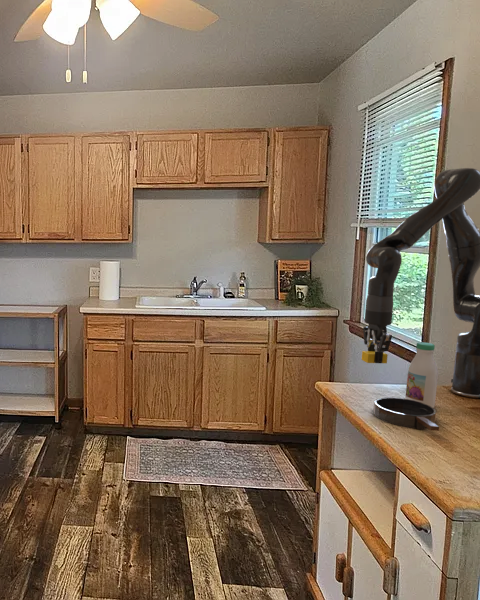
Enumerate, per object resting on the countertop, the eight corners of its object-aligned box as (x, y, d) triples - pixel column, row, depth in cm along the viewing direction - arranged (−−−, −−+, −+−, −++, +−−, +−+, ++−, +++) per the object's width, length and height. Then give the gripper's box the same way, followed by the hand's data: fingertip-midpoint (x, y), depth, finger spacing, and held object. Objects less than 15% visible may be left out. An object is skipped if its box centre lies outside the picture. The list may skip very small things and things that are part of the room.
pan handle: (414, 427, 139) (416, 416, 138) (422, 428, 139) (423, 416, 138) (430, 438, 132) (431, 426, 132) (438, 438, 132) (439, 426, 131)
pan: (415, 408, 153) (416, 398, 153) (447, 428, 138) (448, 416, 138) (364, 407, 154) (365, 396, 154) (390, 427, 139) (391, 415, 139)
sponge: (380, 360, 163) (381, 351, 163) (386, 363, 159) (387, 354, 159) (361, 359, 164) (362, 350, 163) (367, 363, 160) (368, 354, 159)
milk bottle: (425, 401, 159) (431, 341, 156) (440, 410, 152) (446, 346, 149) (399, 401, 160) (405, 340, 157) (413, 409, 152) (419, 346, 149)
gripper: (403, 313, 151) (398, 367, 154) (379, 305, 165) (375, 355, 168) (378, 312, 152) (373, 367, 155) (356, 305, 166) (352, 355, 169)
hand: (374, 360), depth 161 cm, fingers closed on sponge, 4 cm apart
